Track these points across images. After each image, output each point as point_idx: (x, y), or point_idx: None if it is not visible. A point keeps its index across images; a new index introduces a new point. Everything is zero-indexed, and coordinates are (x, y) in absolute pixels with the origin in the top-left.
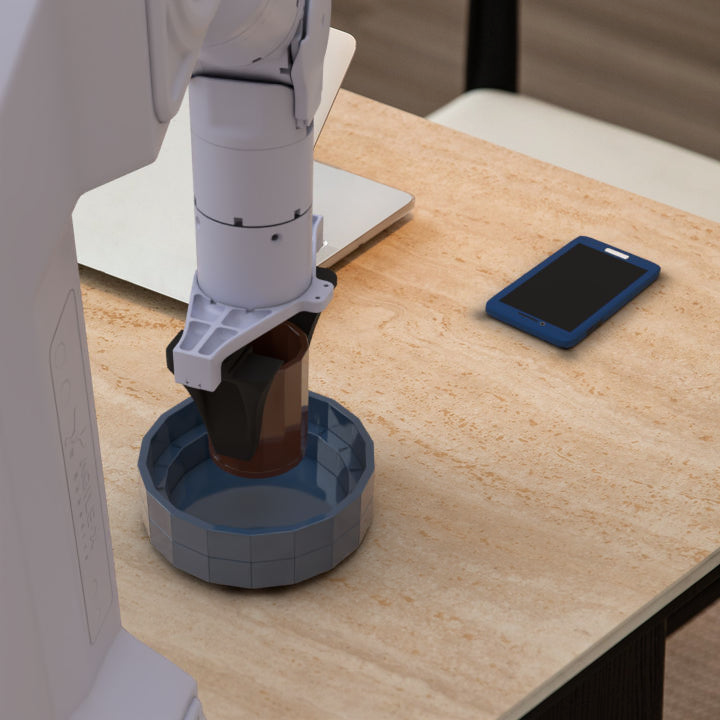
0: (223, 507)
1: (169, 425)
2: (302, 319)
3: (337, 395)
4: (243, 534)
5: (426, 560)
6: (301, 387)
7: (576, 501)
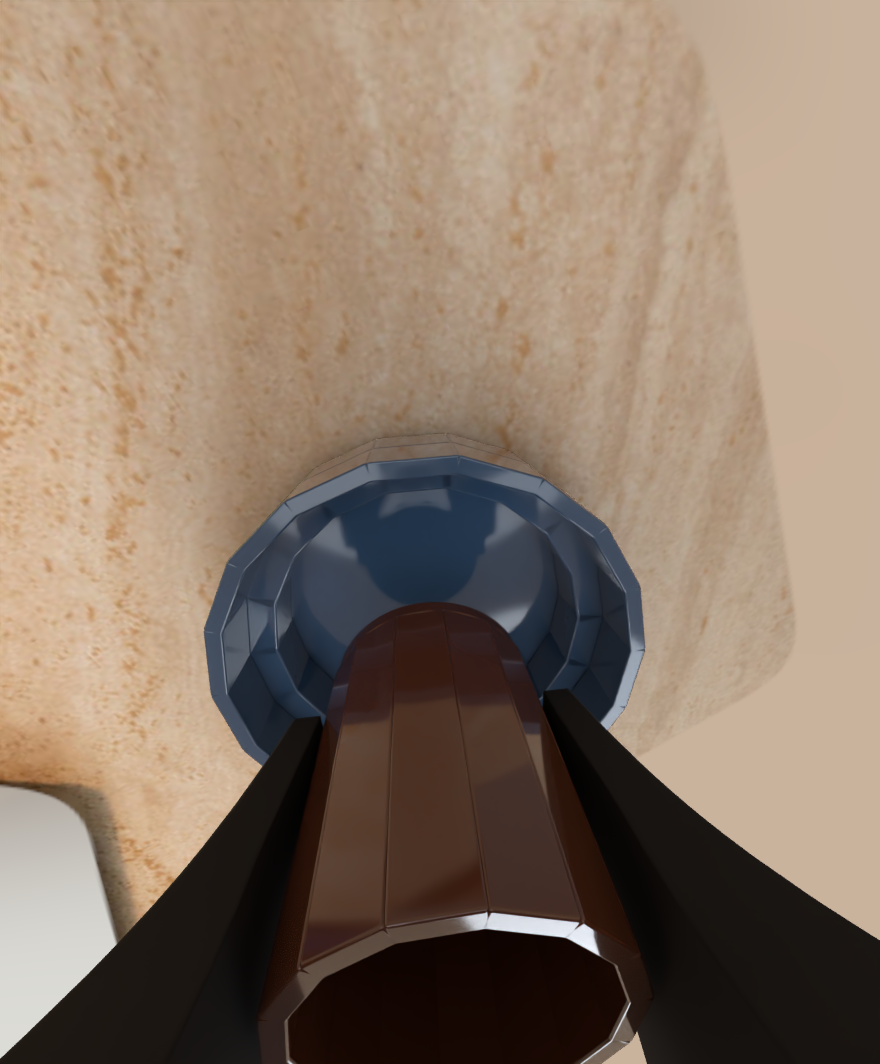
0: None
1: None
2: (215, 1016)
3: (109, 619)
4: (640, 597)
5: (403, 314)
6: (464, 770)
7: (51, 22)
